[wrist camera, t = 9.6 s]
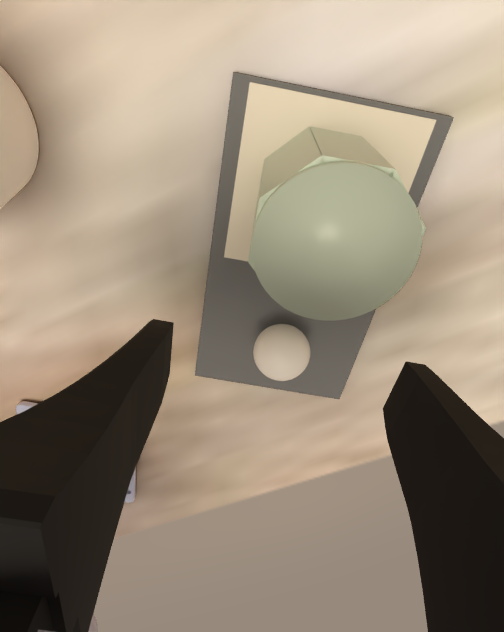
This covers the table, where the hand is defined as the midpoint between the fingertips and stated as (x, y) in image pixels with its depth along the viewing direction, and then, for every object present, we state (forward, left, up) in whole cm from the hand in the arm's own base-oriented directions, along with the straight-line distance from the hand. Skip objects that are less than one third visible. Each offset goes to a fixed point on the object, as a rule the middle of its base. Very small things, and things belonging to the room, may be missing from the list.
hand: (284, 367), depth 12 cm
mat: (-1, -1, -9) cm, 9 cm away
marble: (-5, -1, -7) cm, 9 cm away
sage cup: (+3, -1, -9) cm, 9 cm away
